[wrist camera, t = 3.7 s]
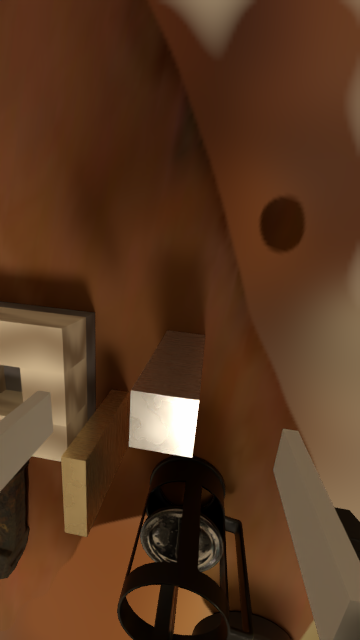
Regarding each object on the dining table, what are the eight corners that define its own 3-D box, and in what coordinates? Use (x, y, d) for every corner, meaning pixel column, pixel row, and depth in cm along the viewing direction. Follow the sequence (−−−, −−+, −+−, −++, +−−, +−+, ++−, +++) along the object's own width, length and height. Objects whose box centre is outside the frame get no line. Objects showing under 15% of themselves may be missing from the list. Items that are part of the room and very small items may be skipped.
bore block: (95, 423, 30) (67, 462, 24) (-9, 405, 31) (-58, 439, 26) (94, 312, 26) (61, 328, 21) (-23, 298, 28) (-85, 309, 22)
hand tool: (6, 447, 33) (-26, 477, 29) (33, 455, 33) (5, 486, 29) (8, 543, 39) (-19, 581, 34) (31, 551, 38) (7, 590, 34)
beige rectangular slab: (126, 448, 30) (87, 537, 21) (111, 445, 31) (64, 532, 21) (128, 391, 28) (85, 461, 19) (111, 389, 29) (60, 456, 19)
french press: (139, 500, 32) (-19, 1028, 10) (153, 443, 30) (-17, 987, 8) (226, 527, 32) (259, 1159, 9) (248, 472, 29) (365, 1164, 7)
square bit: (201, 369, 26) (192, 457, 15) (164, 364, 27) (128, 446, 15) (205, 335, 25) (199, 400, 14) (167, 330, 26) (131, 390, 14)
